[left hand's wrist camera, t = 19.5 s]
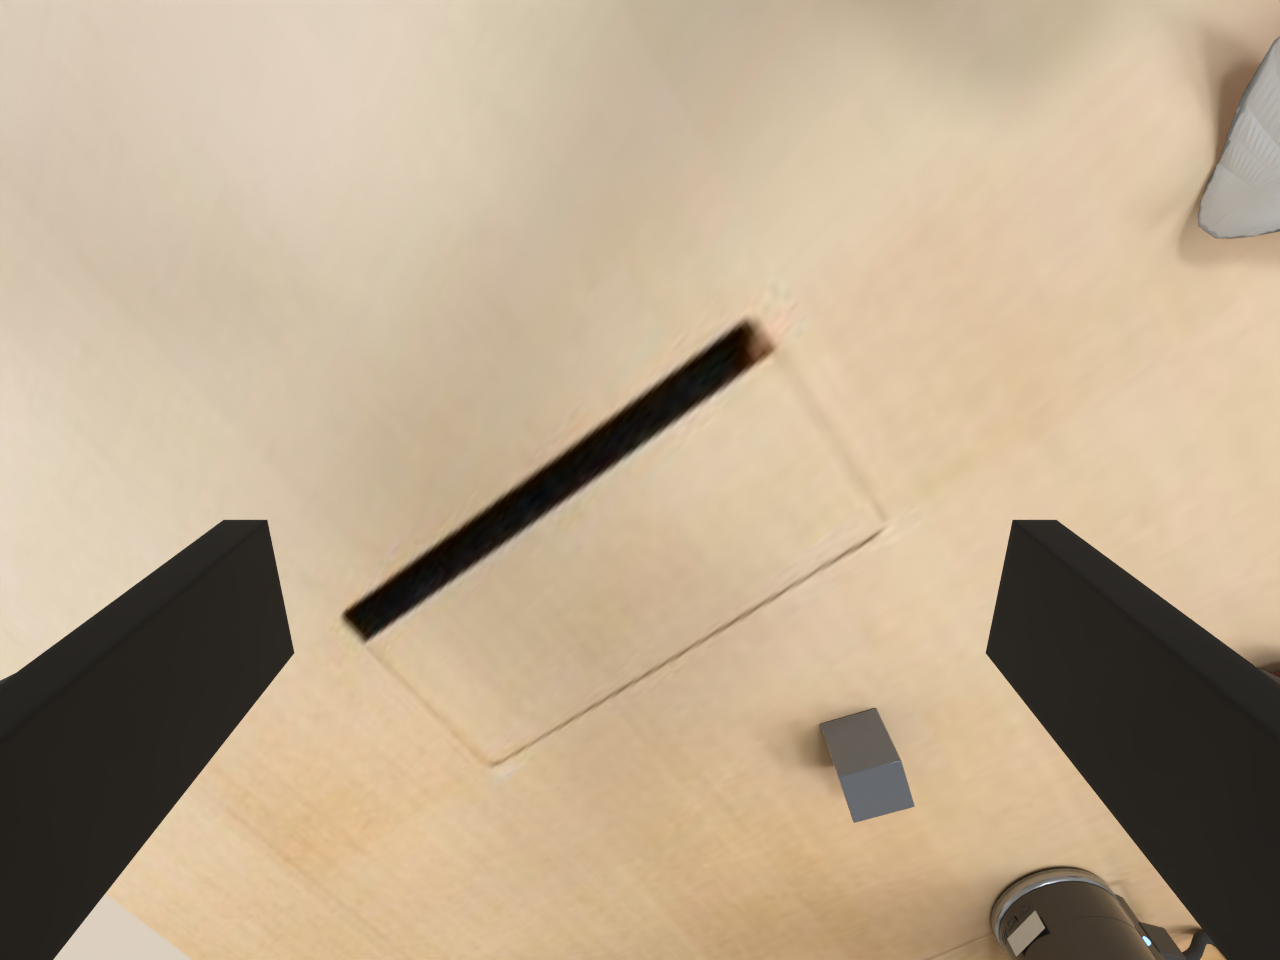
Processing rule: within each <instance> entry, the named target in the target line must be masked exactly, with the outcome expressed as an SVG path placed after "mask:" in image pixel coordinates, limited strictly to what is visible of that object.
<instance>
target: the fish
mask: <svg viewBox="0 0 1280 960" xmlns="http://www.w3.org/2000/svg"><path fill="white" fill-rule="evenodd" d="M1198 226H1199V227H1200V228H1201V229H1203V230H1204V231H1206V232H1207V233H1208V234H1210V235H1211V236H1213V237H1214V238H1227V239H1232V238H1242V237H1252V236H1257V235H1263V234H1268V233H1273V232H1278V231H1280V37H1278V38H1277V39H1276V40H1275V41H1274V42H1273V44H1272V46H1271V47H1270V49H1269V51H1268V52H1267V54H1266V56H1265V57H1264V59H1263V61H1262V63H1261V64H1260V66H1259V68H1258V69H1257V71H1256V73H1255V74H1254V76H1253V78H1252V79H1251V81H1250V83H1249V84H1248V86H1247V88H1246V89H1245V91H1244V93H1243V95H1242V97H1241V100H1240V103H1239V105H1238V108H1237V111H1236V113H1235V116H1234V119H1233V122H1232V124H1231V127H1230V130H1229V133H1228V136H1227V138H1226V141H1225V144H1224V147H1223V150H1222V153H1221V156H1220V158H1219V161H1218V164H1217V166H1216V167H1215V169H1214V171H1213V173H1212V175H1211V177H1210V179H1209V181H1208V183H1207V186H1206V189H1205V191H1204V194H1203V197H1202V199H1201V203H1200V208H1199V213H1198Z"/></svg>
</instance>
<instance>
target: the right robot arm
mask: <svg viewBox="0 0 1280 960" xmlns="http://www.w3.org/2000/svg"><path fill="white" fill-rule="evenodd" d="M991 926H992V930H993V932H994V934H995V936H996V938H997V940H998V942H999V944H1000V946H1001V948H1002V949H1003V951H1004V952H1005V954H1006V956H1007V958H1008V960H1200V959H1201V957H1202V955H1203V952H1204V949H1205V946H1206V944H1212V945H1214V946H1215V947H1217V946H1216V945H1215V944H1214V943H1213V941H1212V940H1211V939H1210V938H1209V936H1208V935H1207V934H1206V932H1205V931H1199V932H1197V933H1195V934H1194V936H1193V939H1192V942H1191V944H1190V946H1189V948H1188V949H1187V950H1186V951H1184V952H1181V951H1180V949H1179V948H1178V947H1177V945H1176V944H1175V943H1174V941H1173V940H1172V938H1171V937H1170V936H1169V934H1168V933H1167V932H1166V930H1165V929H1164V928H1161V927H1157V926H1153V925H1149V924H1146V923H1142V922H1140V921H1139V920H1138V919H1137V917H1136V916H1135V914H1134V913H1133V912H1132V910H1131V909H1130V907H1129V906H1128V904H1127V903H1126V902H1125V900H1124V899H1123V898H1122V897H1118V896H1115V894H1114V893H1113V892H1112V890H1111V889H1110V887H1109V886H1108V885H1107V884H1106V882H1105V881H1103V880H1102V879H1101V878H1099V877H1098V876H1096V875H1094V874H1092V873H1090V872H1087V871H1083V870H1079V869H1070V868H1060V869H1051V870H1046V871H1041V872H1038V873H1035V874H1032V875H1030V876H1028V877H1025V878H1023V879H1022V880H1020V881H1018V882H1016V883H1015V884H1013V885H1012V886H1011V887H1010V888H1008V889H1007V890H1006V891H1005V892H1004V893H1003V894H1002V895H1001V897H1000V898H999V899H998V901H997V902H996V904H995V906H994V908H993V911H992V915H991Z"/></svg>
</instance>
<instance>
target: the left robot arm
mask: <svg viewBox="0 0 1280 960" xmlns="http://www.w3.org/2000/svg"><path fill="white" fill-rule="evenodd" d="M293 654H294V650H293V645H292V640H291V635H290V630H289V625H288V620H287V615H286V610H285V605H284V600H283V595H282V590H281V586H280V581H279V576H278V571H277V566H276V561H275V556H274V551H273V546H272V541H271V536H270V531H269V526H268V521H267V520H223V521H222V522H220V523H219V524H218V525H216V526H215V527H213V528H212V529H211V530H209V531H208V532H207V533H205V534H204V535H203V536H201V537H200V538H199V539H197V540H196V541H194V542H193V543H192V544H190V545H189V546H188V547H186V548H185V549H184V550H182V551H181V552H180V553H178V554H177V555H175V556H174V557H173V558H171V559H170V560H169V561H167V562H166V563H165V564H163V565H162V566H161V567H159V568H158V569H156V570H155V571H154V572H152V573H151V574H150V575H148V576H147V577H146V578H144V579H143V580H142V581H140V582H139V583H138V584H136V585H135V586H133V587H132V588H131V589H129V590H128V591H127V592H125V593H124V594H123V595H121V596H120V597H119V598H117V599H116V600H114V601H113V602H112V603H110V604H109V605H108V606H106V607H105V608H104V609H102V610H101V611H100V612H98V613H97V614H95V615H94V616H93V617H91V618H90V619H89V620H87V621H86V622H85V623H83V624H82V625H81V626H79V627H78V628H76V629H75V630H74V631H72V632H71V633H70V634H68V635H67V636H66V637H64V638H63V639H62V640H60V641H59V642H57V643H56V644H55V645H53V646H52V647H51V648H49V649H48V650H47V651H45V652H44V653H43V654H41V655H40V656H38V657H37V658H36V659H34V660H33V661H32V662H30V663H29V664H28V665H26V666H25V667H24V668H22V669H21V670H19V671H18V672H17V673H15V674H13V675H11V676H9V677H7V678H5V679H3V680H1V681H0V960H53V959H54V958H55V957H56V955H57V954H58V953H59V952H60V950H61V949H62V948H63V946H64V945H65V944H66V943H67V941H68V940H69V939H70V938H71V936H72V935H73V934H74V932H75V931H76V930H77V929H78V927H79V926H80V925H81V924H82V922H83V921H84V920H85V918H86V917H87V916H88V915H89V913H90V912H91V911H92V910H93V908H94V907H95V906H96V904H97V903H98V902H99V901H100V899H101V898H102V897H103V896H104V894H105V893H106V892H107V891H108V889H109V888H110V887H111V885H112V884H113V883H114V882H115V880H116V879H117V878H118V877H119V875H120V874H121V873H122V871H123V870H124V869H125V868H126V866H127V865H128V864H129V863H130V861H131V860H132V859H133V857H134V856H135V855H136V854H137V852H138V851H139V850H140V849H141V847H142V846H143V845H144V843H145V842H146V841H147V840H148V838H149V837H150V836H151V835H152V833H153V832H154V831H155V829H156V828H157V827H158V826H159V824H160V823H161V822H162V821H163V819H164V818H165V817H166V815H167V814H168V813H169V812H170V810H171V809H172V808H173V807H174V805H175V804H176V803H177V801H178V800H179V799H180V798H181V796H182V795H183V794H184V793H185V791H186V790H187V789H188V787H189V786H190V785H191V784H192V782H193V781H194V780H195V779H196V777H197V776H198V775H199V773H200V772H201V771H202V770H203V768H204V767H205V766H206V765H207V763H208V762H209V761H210V759H211V758H212V757H213V756H214V754H215V753H216V752H217V751H218V749H219V748H220V747H221V745H222V744H223V743H224V742H225V740H226V739H227V738H228V737H229V735H230V734H231V733H232V731H233V730H234V729H235V728H236V726H237V725H238V724H239V723H240V721H241V720H242V719H243V717H244V716H245V715H246V714H247V712H248V711H249V710H250V709H251V707H252V706H253V705H254V704H255V702H256V701H257V700H258V698H259V697H260V696H261V695H262V693H263V692H264V691H265V690H266V688H267V687H268V686H269V684H270V683H271V682H272V681H273V679H274V678H275V677H276V676H277V674H278V673H279V672H280V670H281V669H282V668H283V667H284V665H285V664H286V663H287V662H288V660H289V659H290V658H291V656H292V655H293ZM986 654H987V655H988V656H989V658H990V659H991V660H992V662H993V663H994V664H995V665H996V667H997V668H998V669H999V670H1000V672H1001V673H1002V674H1003V676H1004V677H1005V678H1006V679H1007V681H1008V682H1009V683H1010V684H1011V686H1012V687H1013V688H1014V690H1015V691H1016V692H1017V693H1018V695H1019V696H1020V697H1021V698H1022V700H1023V701H1024V702H1025V704H1026V705H1027V706H1028V707H1029V709H1030V710H1031V711H1032V712H1033V714H1034V715H1035V716H1036V717H1037V719H1038V720H1039V721H1040V723H1041V724H1042V725H1043V726H1044V728H1045V729H1046V730H1047V731H1048V733H1049V734H1050V735H1051V737H1052V738H1053V739H1054V740H1055V742H1056V743H1057V744H1058V745H1059V747H1060V748H1061V749H1062V751H1063V752H1064V753H1065V754H1066V756H1067V757H1068V758H1069V759H1070V761H1071V762H1072V763H1073V765H1074V766H1075V767H1076V768H1077V770H1078V771H1079V772H1080V773H1081V775H1082V776H1083V777H1084V779H1085V780H1086V781H1087V782H1088V784H1089V785H1090V786H1091V787H1092V789H1093V790H1094V791H1095V793H1096V794H1097V795H1098V796H1099V798H1100V799H1101V800H1102V801H1103V803H1104V804H1105V805H1106V807H1107V808H1108V809H1109V810H1110V812H1111V813H1112V814H1113V815H1114V817H1115V818H1116V819H1117V821H1118V822H1119V823H1120V824H1121V826H1122V827H1123V828H1124V829H1125V831H1126V832H1127V833H1128V835H1129V836H1130V837H1131V838H1132V840H1133V841H1134V842H1135V843H1136V845H1137V846H1138V847H1139V849H1140V850H1141V851H1142V852H1143V854H1144V855H1145V856H1146V857H1147V859H1148V860H1149V861H1150V863H1151V864H1152V865H1153V866H1154V868H1155V869H1156V870H1157V871H1158V873H1159V874H1160V875H1161V877H1162V878H1163V879H1164V880H1165V882H1166V883H1167V884H1168V885H1169V887H1170V888H1171V889H1172V891H1173V892H1174V893H1175V894H1176V896H1177V897H1178V898H1179V899H1180V901H1181V902H1182V903H1183V905H1184V906H1185V907H1186V908H1187V910H1188V911H1189V912H1190V913H1191V915H1192V916H1193V917H1194V918H1195V920H1196V921H1197V922H1198V924H1199V925H1200V926H1201V927H1202V929H1203V930H1204V931H1205V932H1206V934H1207V935H1208V936H1209V938H1210V939H1211V940H1212V941H1213V943H1214V944H1215V945H1216V946H1217V948H1218V949H1219V950H1220V952H1221V953H1222V954H1223V955H1224V957H1225V958H1226V959H1227V960H1280V678H1279V677H1277V676H1275V675H1273V674H1271V673H1269V672H1267V671H1265V670H1263V669H1258V668H1256V667H1255V666H1254V665H1252V664H1251V663H1250V662H1248V661H1247V660H1246V659H1244V658H1243V657H1242V656H1240V655H1239V654H1237V653H1236V652H1235V651H1233V650H1232V649H1231V648H1229V647H1228V646H1227V645H1225V644H1224V643H1223V642H1221V641H1220V640H1218V639H1217V638H1216V637H1214V636H1213V635H1212V634H1210V633H1209V632H1208V631H1206V630H1205V629H1204V628H1202V627H1201V626H1199V625H1198V624H1197V623H1195V622H1194V621H1193V620H1191V619H1190V618H1189V617H1187V616H1186V615H1185V614H1183V613H1182V612H1180V611H1179V610H1178V609H1176V608H1175V607H1174V606H1172V605H1171V604H1170V603H1168V602H1167V601H1166V600H1164V599H1163V598H1161V597H1160V596H1159V595H1157V594H1156V593H1155V592H1153V591H1152V590H1151V589H1149V588H1148V587H1147V586H1145V585H1144V584H1142V583H1141V582H1140V581H1138V580H1137V579H1136V578H1134V577H1133V576H1132V575H1130V574H1129V573H1128V572H1126V571H1125V570H1124V569H1122V568H1121V567H1119V566H1118V565H1117V564H1115V563H1114V562H1113V561H1111V560H1110V559H1109V558H1107V557H1106V556H1105V555H1103V554H1102V553H1100V552H1099V551H1098V550H1096V549H1095V548H1094V547H1092V546H1091V545H1090V544H1088V543H1087V542H1086V541H1084V540H1083V539H1081V538H1080V537H1079V536H1077V535H1076V534H1075V533H1073V532H1072V531H1071V530H1069V529H1068V528H1067V527H1065V526H1064V525H1062V524H1061V523H1060V522H1058V521H1057V520H1013V521H1012V526H1011V531H1010V536H1009V541H1008V546H1007V551H1006V556H1005V561H1004V566H1003V571H1002V576H1001V581H1000V586H999V590H998V595H997V600H996V605H995V610H994V615H993V620H992V625H991V630H990V635H989V640H988V645H987V650H986Z"/></svg>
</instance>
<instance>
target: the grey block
mask: <svg viewBox="0 0 1280 960" xmlns="http://www.w3.org/2000/svg"><path fill="white" fill-rule="evenodd" d="M820 727H821V730H822V733H823V736H824V739H825V741H826V744H827V747H828V750H829V753H830V756H831V759H832V762H833V765H834V768H835V771H836V774H837V777H838V780H839V782H840V785H841V788H842V791H843V794H844V797H845V800H846V802H847V805H848V808H849V811H850V814H851V817H852V820H853V822H854V823H855V822H859V821H863V820H867V819H870V818H874V817H878V816H881V815H885V814H889V813H893V812H896V811H900V810H904V809H908V808H911V807H914V802H913V799H912V796H911V792H910V789H909V785H908V782H907V779H906V775H905V772H904V768H903V765H902V762H901V759H900V757H899V755H898V753H897V751H896V749H895V746H894V744H893V742H892V740H891V738H890V736H889V734H888V732H887V730H886V728H885V725H884V723H883V721H882V719H881V717H880V715H879V713H878V711H877V709H876V708H875V709H871V710H868V711H864V712H861V713H857V714H854V715H850V716H847V717H843V718H840V719H836V720H833V721H829V722H826V723H822V724H820Z"/></svg>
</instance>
